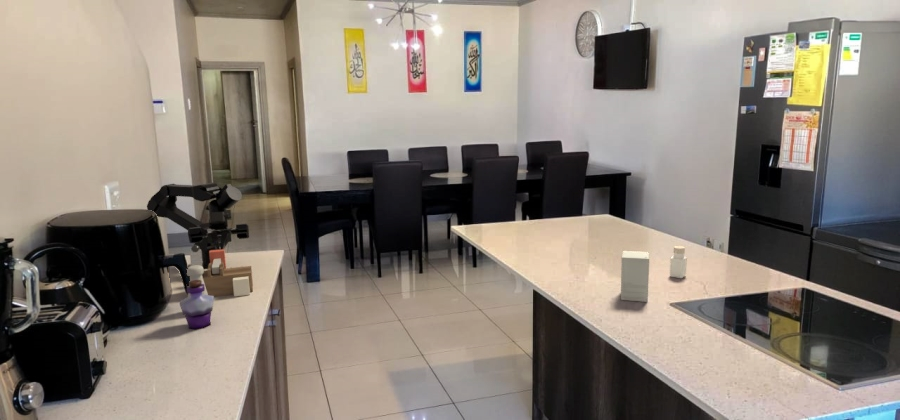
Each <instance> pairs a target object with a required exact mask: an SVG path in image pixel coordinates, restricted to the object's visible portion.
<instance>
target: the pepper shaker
mask: <svg viewBox="0 0 900 420" xmlns="http://www.w3.org/2000/svg"><path fill="white" fill-rule="evenodd" d="M685 250H686V247H685V246H682V245H674V246H673V255H672V256H671V257H670V261H669V264H670V265H669V276H670V277H671V278H677V279H683V278H684V277H686V276H687V262H688V260H687V259H688V258H687V256H685V252H686V251H685Z"/></svg>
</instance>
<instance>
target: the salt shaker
mask: <svg viewBox="0 0 900 420" xmlns="http://www.w3.org/2000/svg"><path fill="white" fill-rule="evenodd" d="M187 268H188V269H187ZM187 268H186V270H187V273H186V275H187V276H190V281H193V280H201V281H202V282H201V284H204V287H205V283H204V280H203V277H202V274H203V273H204V271H205V270H204V269H205V268H203V267H202V266H201V265H193V266H191V265H190V266H188V267H187ZM202 295H208V293H207V290H206V287H205V291H203V292H202ZM190 296H191V295H190V293H187V298H188V297H190Z"/></svg>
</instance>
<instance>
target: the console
mask: <svg viewBox="0 0 900 420" xmlns="http://www.w3.org/2000/svg"><path fill="white" fill-rule="evenodd" d="M206 269H207V270H204V273H203V280H204V283H205V287H206V290H207V293H208V295H210V296H214V297H219V296H229V295H234V289H233V278H238V277H247V276H249V287H250V293H253V292H254V291H253V290H254V283H253V282H254V281H253V272H252V265H246V266H238V267H237V266H236V267H226V269H224V262H221V264H220V273H219V274H212V263H209V266H208V268H206Z"/></svg>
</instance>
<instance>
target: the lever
mask: <svg viewBox="0 0 900 420" xmlns="http://www.w3.org/2000/svg"><path fill="white" fill-rule="evenodd" d="M189 256H190V257H189V259H190V260H189V261H190V266H193V265H201V266H202V253H201V249H200V247H199V246H198V245H194V244H193V245H192V246H191V248H190V250H189ZM202 277H203V274H202Z"/></svg>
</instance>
